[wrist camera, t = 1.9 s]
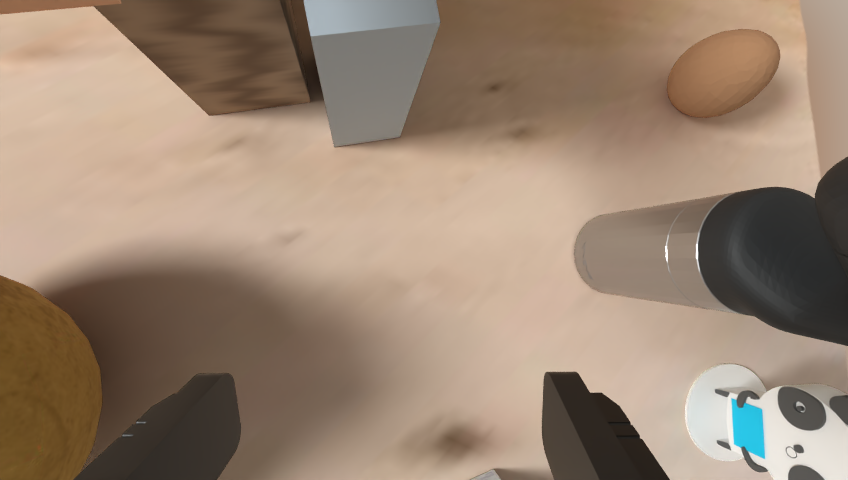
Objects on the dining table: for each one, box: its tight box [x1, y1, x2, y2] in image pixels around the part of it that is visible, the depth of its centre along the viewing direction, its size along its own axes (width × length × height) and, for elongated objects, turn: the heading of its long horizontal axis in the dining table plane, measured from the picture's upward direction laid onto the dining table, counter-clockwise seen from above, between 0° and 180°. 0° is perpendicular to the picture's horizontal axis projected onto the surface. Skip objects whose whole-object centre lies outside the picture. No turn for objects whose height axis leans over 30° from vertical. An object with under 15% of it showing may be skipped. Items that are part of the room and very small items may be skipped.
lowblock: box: [304, 0, 441, 147], centre depth 33 cm, size 7×10×22 cm
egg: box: [667, 29, 780, 118], centre depth 44 cm, size 8×8×11 cm
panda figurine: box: [685, 363, 848, 480], centre depth 42 cm, size 12×11×15 cm
